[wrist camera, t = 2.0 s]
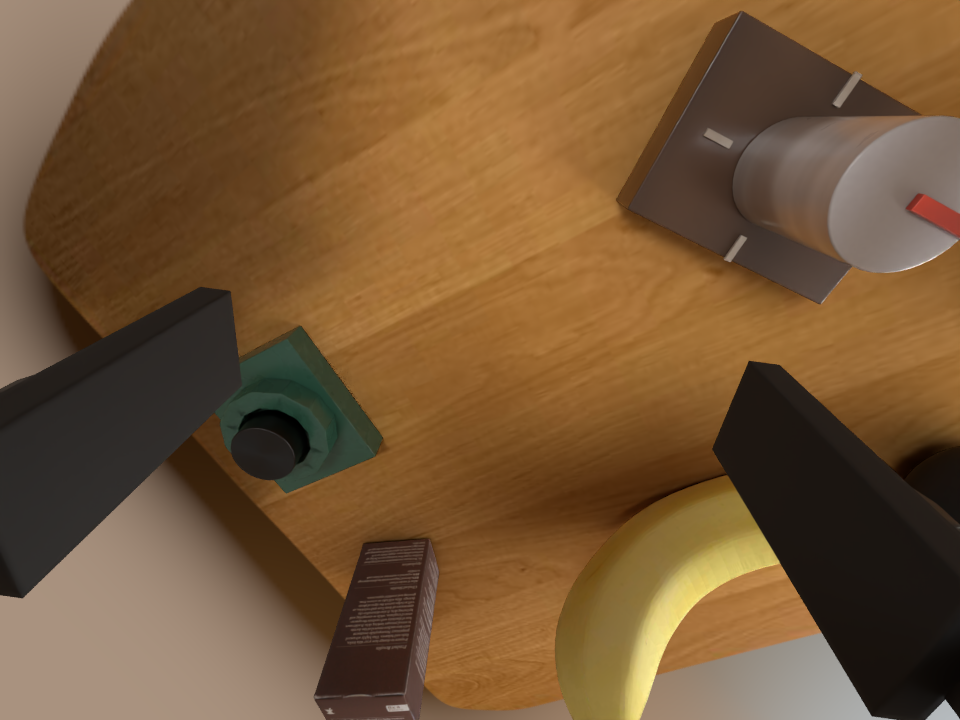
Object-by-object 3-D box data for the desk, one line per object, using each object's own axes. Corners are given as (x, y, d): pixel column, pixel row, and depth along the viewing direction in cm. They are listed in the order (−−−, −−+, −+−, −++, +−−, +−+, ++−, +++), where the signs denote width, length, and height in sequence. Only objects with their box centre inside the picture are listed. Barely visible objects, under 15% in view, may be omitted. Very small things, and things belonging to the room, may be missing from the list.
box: (376, 577, 42) (330, 735, 31) (363, 540, 40) (308, 694, 29) (443, 573, 41) (419, 733, 31) (433, 535, 39) (403, 692, 29)
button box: (210, 372, 34) (175, 402, 30) (300, 325, 32) (273, 351, 28) (297, 474, 37) (275, 511, 34) (383, 437, 35) (368, 473, 32)
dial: (710, 201, 24) (800, 239, 16) (778, 96, 22) (917, 84, 14) (793, 244, 24) (915, 298, 17) (867, 146, 22) (1044, 159, 15)
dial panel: (614, 201, 27) (626, 211, 24) (716, 19, 23) (744, 6, 20) (790, 289, 29) (821, 307, 26) (913, 133, 25) (966, 135, 22)
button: (233, 423, 31) (216, 442, 29) (281, 400, 30) (266, 418, 28) (272, 467, 32) (258, 488, 31) (319, 447, 31) (307, 467, 30)
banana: (841, 419, 32) (1247, 790, 14) (855, 480, 34) (1224, 869, 17) (534, 521, 38) (554, 876, 20) (563, 568, 40) (604, 926, 22)
